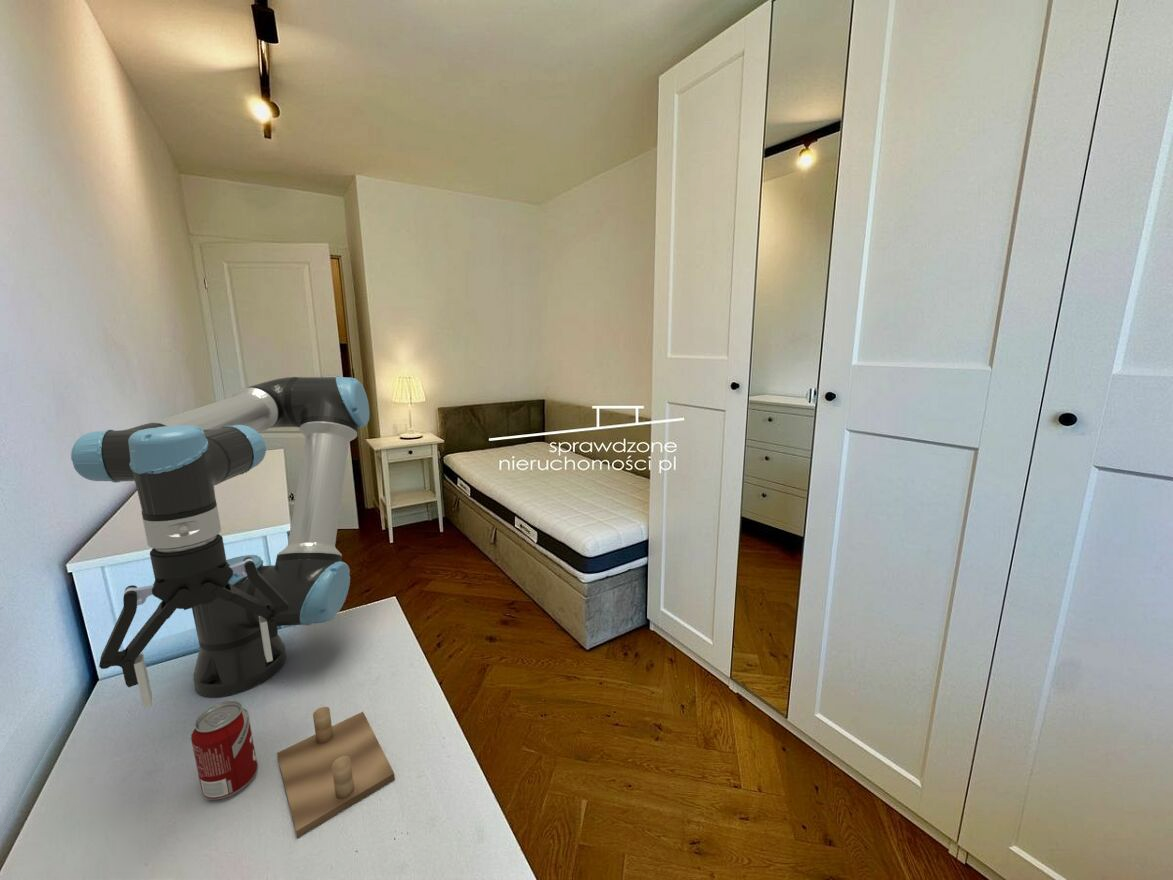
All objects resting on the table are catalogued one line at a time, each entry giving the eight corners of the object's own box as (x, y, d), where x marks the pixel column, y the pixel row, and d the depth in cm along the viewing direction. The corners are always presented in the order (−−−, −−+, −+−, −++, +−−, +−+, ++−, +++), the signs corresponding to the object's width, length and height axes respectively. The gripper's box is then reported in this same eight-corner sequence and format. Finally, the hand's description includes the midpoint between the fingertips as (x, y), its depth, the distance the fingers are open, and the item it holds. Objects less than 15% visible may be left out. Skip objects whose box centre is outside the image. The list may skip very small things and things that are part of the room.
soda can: (228, 808, 66) (215, 738, 64) (190, 798, 68) (176, 729, 65) (269, 766, 73) (258, 701, 70) (233, 758, 74) (222, 694, 72)
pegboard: (277, 759, 74) (272, 726, 73) (363, 717, 82) (360, 687, 81) (297, 838, 62) (291, 801, 61) (394, 779, 71) (391, 746, 69)
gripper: (40, 582, 51) (82, 742, 56) (299, 525, 67) (315, 653, 72) (53, 559, 57) (90, 706, 61) (289, 511, 73) (305, 630, 77)
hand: (212, 678), depth 66 cm, fingers open, 13 cm apart
